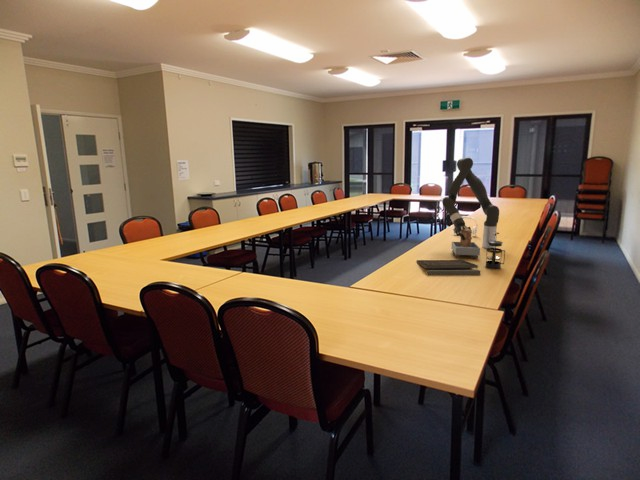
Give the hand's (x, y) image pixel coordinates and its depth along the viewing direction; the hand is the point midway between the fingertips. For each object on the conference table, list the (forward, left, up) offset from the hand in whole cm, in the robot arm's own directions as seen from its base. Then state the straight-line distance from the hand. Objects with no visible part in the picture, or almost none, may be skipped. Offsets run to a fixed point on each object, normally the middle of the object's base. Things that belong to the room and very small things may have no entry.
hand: (467, 239), depth 290 cm
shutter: (+18, +33, -13) cm, 40 cm away
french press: (-12, +27, -12) cm, 32 cm away
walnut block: (+1, -2, -5) cm, 5 cm away
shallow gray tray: (+1, -2, -12) cm, 12 cm away
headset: (-12, -77, -12) cm, 79 cm away
